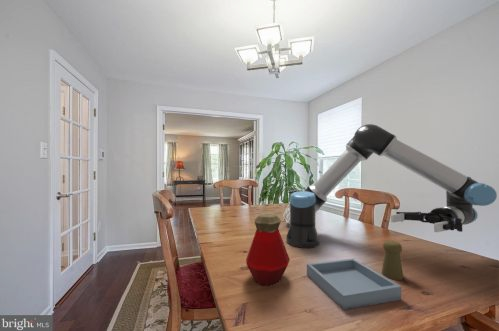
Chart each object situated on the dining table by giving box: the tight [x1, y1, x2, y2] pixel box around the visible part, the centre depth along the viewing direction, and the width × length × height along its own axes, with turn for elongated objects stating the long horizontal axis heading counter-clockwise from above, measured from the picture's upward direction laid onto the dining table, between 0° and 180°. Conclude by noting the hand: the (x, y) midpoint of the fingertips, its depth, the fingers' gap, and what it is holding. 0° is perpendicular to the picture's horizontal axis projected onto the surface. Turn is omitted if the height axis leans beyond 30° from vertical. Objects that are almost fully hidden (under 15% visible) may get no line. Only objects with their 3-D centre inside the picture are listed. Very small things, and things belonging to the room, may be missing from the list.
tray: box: [306, 258, 402, 311], centre depth 63 cm, size 18×18×4 cm
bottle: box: [245, 212, 291, 287], centre depth 68 cm, size 16×14×20 cm
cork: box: [381, 240, 404, 281], centre depth 70 cm, size 6×6×11 cm
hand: (411, 222), depth 74 cm, fingers open, 13 cm apart
